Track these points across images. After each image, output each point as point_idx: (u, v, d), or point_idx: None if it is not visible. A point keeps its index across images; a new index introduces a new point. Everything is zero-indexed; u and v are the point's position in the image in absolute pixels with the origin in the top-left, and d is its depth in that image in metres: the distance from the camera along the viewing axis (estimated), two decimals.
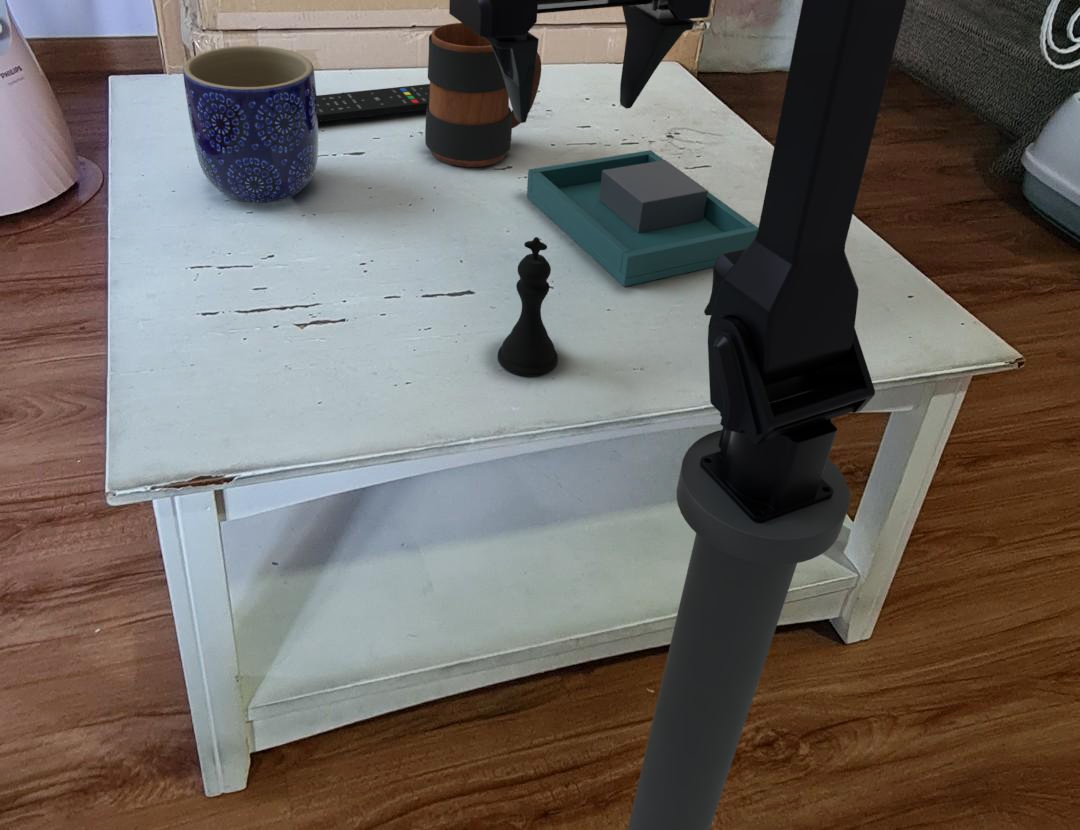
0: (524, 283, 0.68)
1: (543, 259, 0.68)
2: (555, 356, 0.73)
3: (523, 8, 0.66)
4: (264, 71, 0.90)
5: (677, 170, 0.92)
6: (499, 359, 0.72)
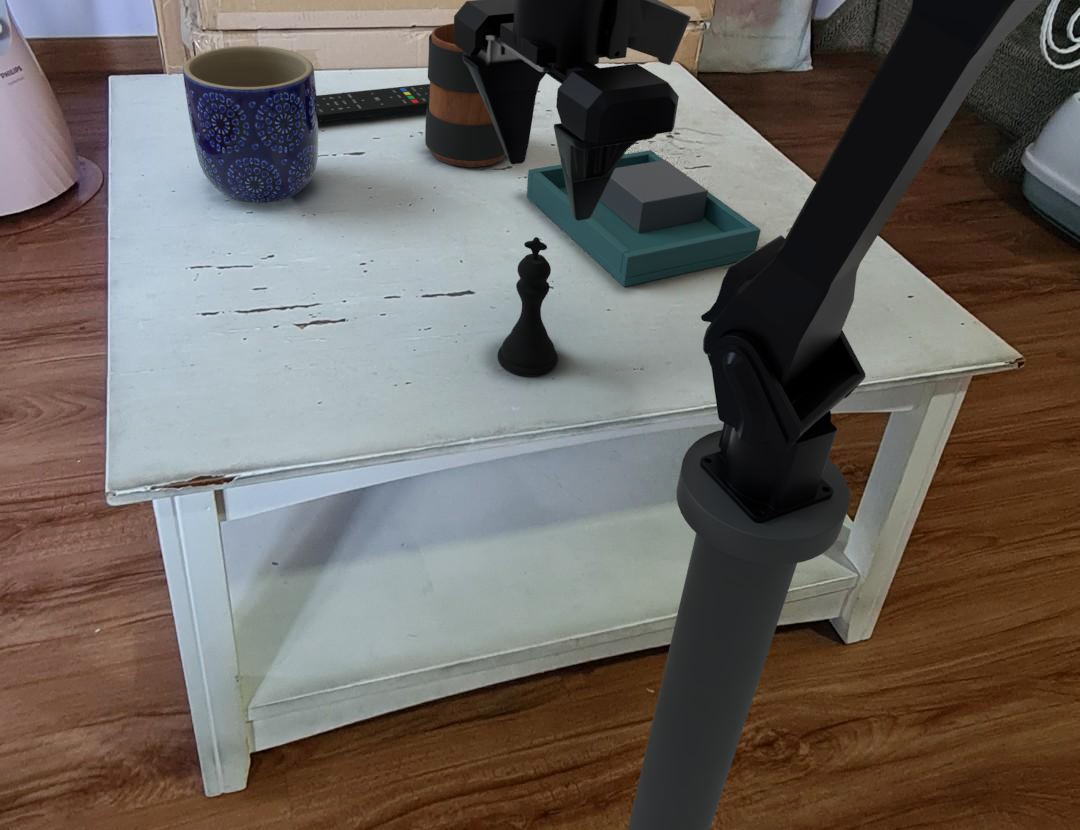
0: (524, 283, 0.68)
1: (543, 259, 0.68)
2: (555, 356, 0.73)
3: (469, 28, 0.65)
4: (264, 71, 0.90)
5: (677, 170, 0.92)
6: (499, 359, 0.72)
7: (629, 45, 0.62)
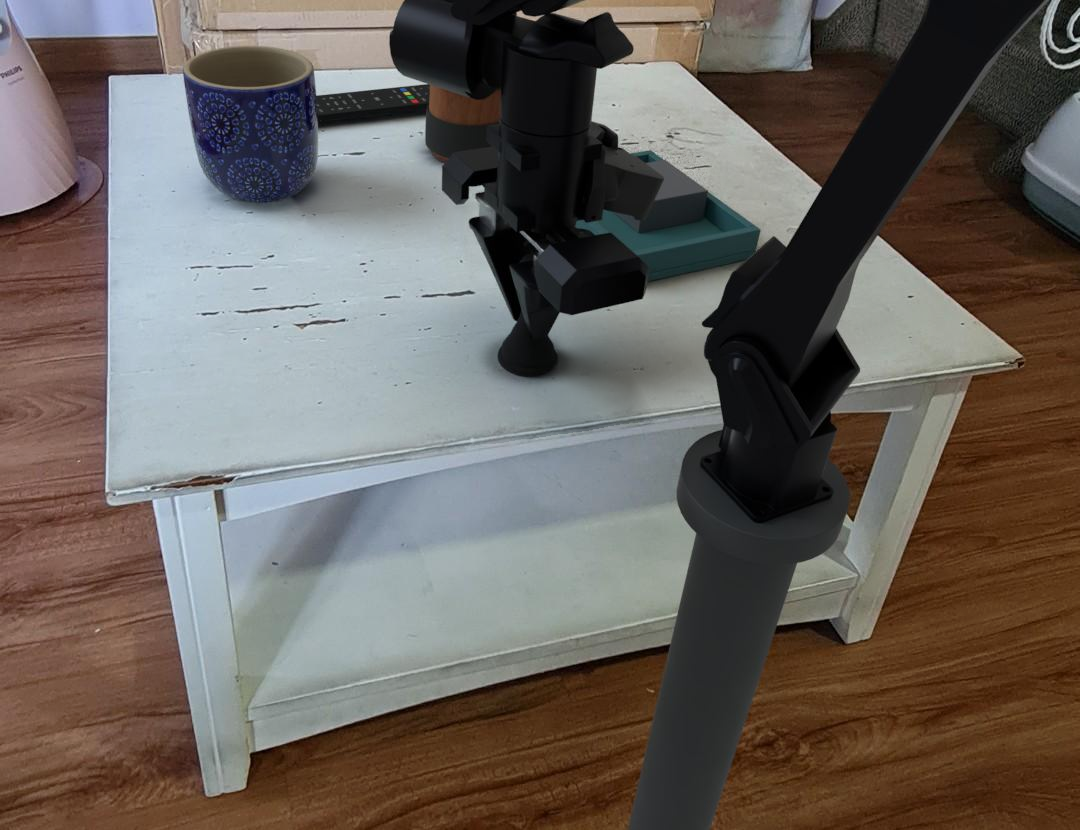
0: None
1: None
2: (555, 356, 0.73)
3: (456, 181, 0.69)
4: (264, 71, 0.90)
5: (677, 170, 0.92)
6: (499, 359, 0.72)
7: (605, 207, 0.65)
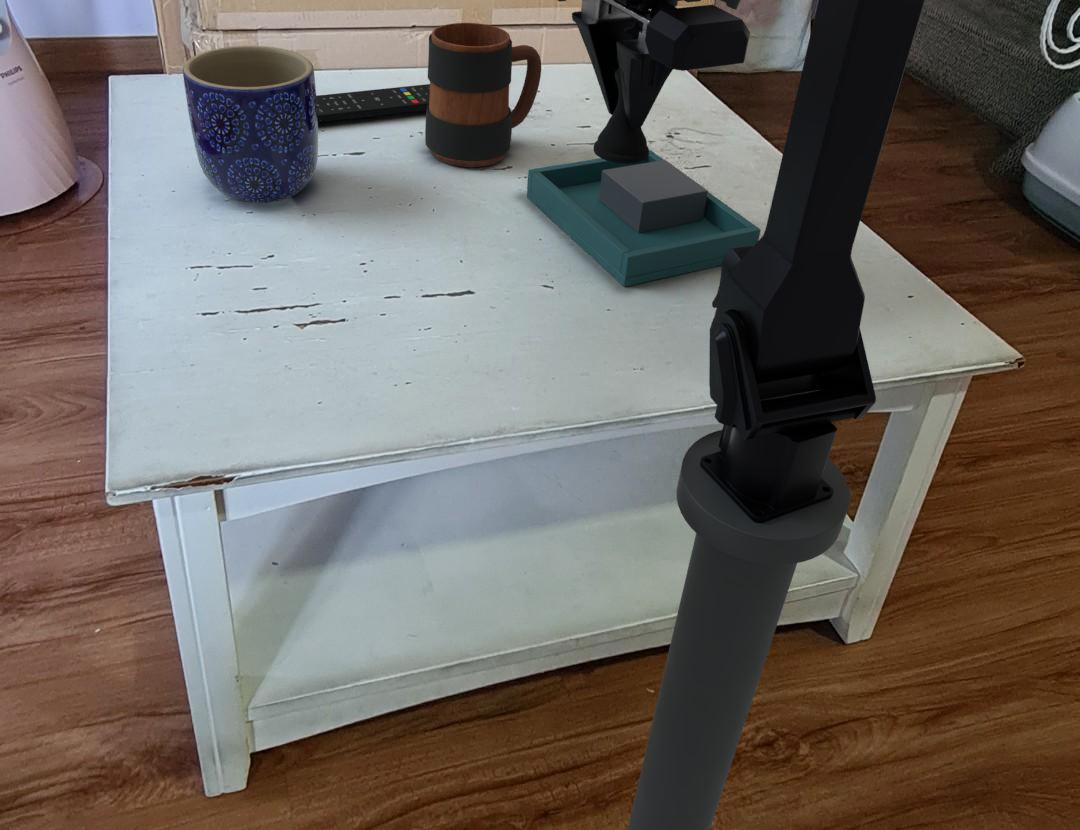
0: None
1: None
2: (647, 148, 0.79)
3: None
4: (264, 71, 0.90)
5: (677, 170, 0.92)
6: (596, 150, 0.78)
7: None
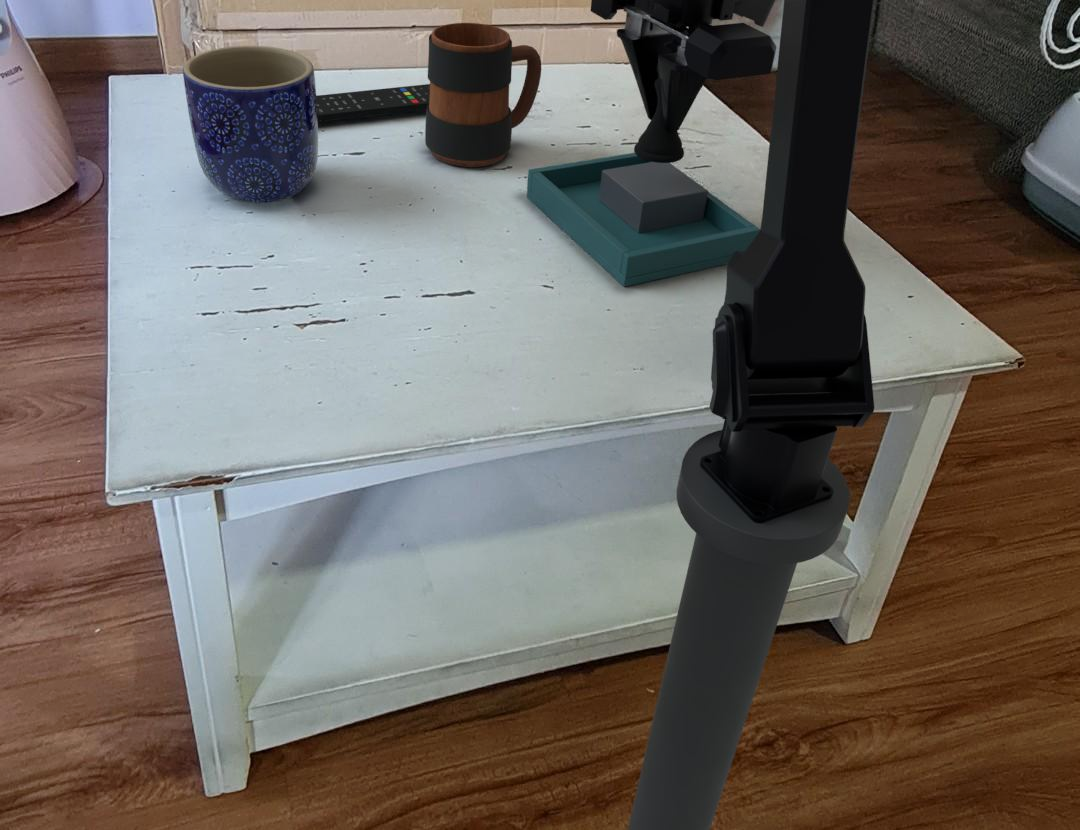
0: None
1: None
2: (682, 149, 0.88)
3: None
4: (264, 71, 0.90)
5: (677, 170, 0.92)
6: (636, 151, 0.88)
7: (734, 10, 0.81)
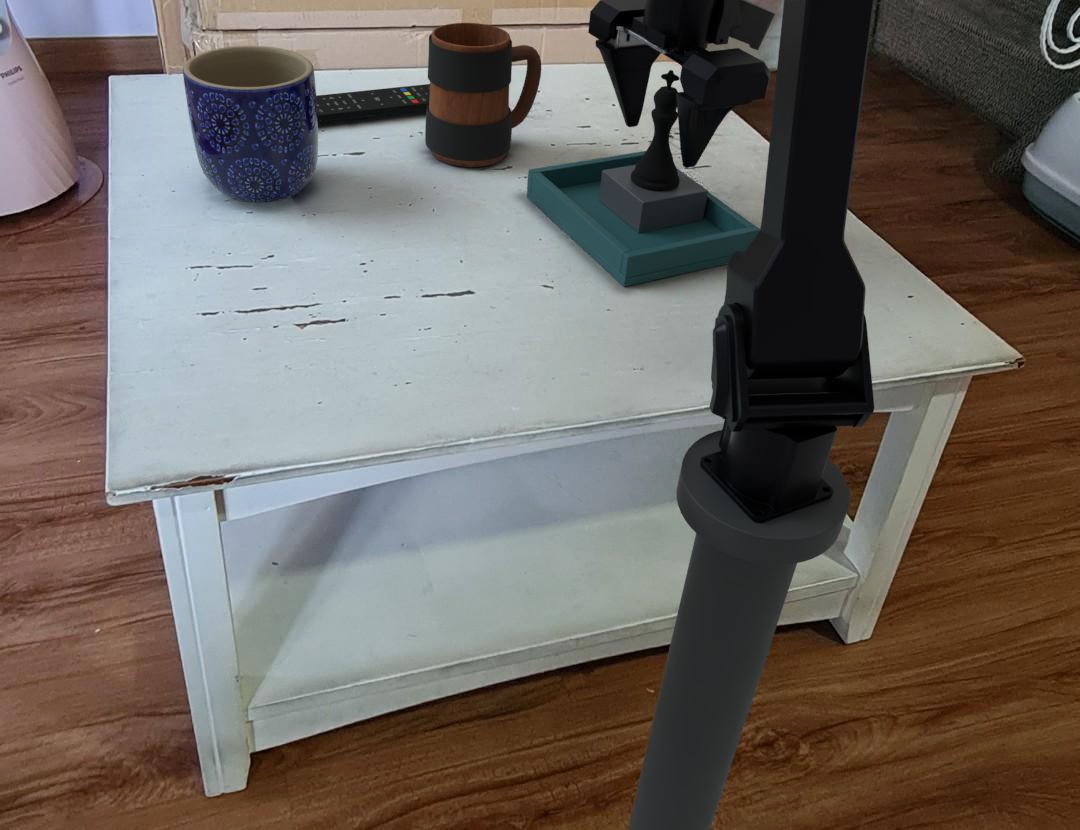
0: (659, 109, 0.85)
1: (675, 89, 0.85)
2: (678, 177, 0.90)
3: (604, 20, 0.86)
4: (264, 71, 0.90)
5: (677, 170, 0.92)
6: (633, 179, 0.89)
7: (729, 34, 0.82)
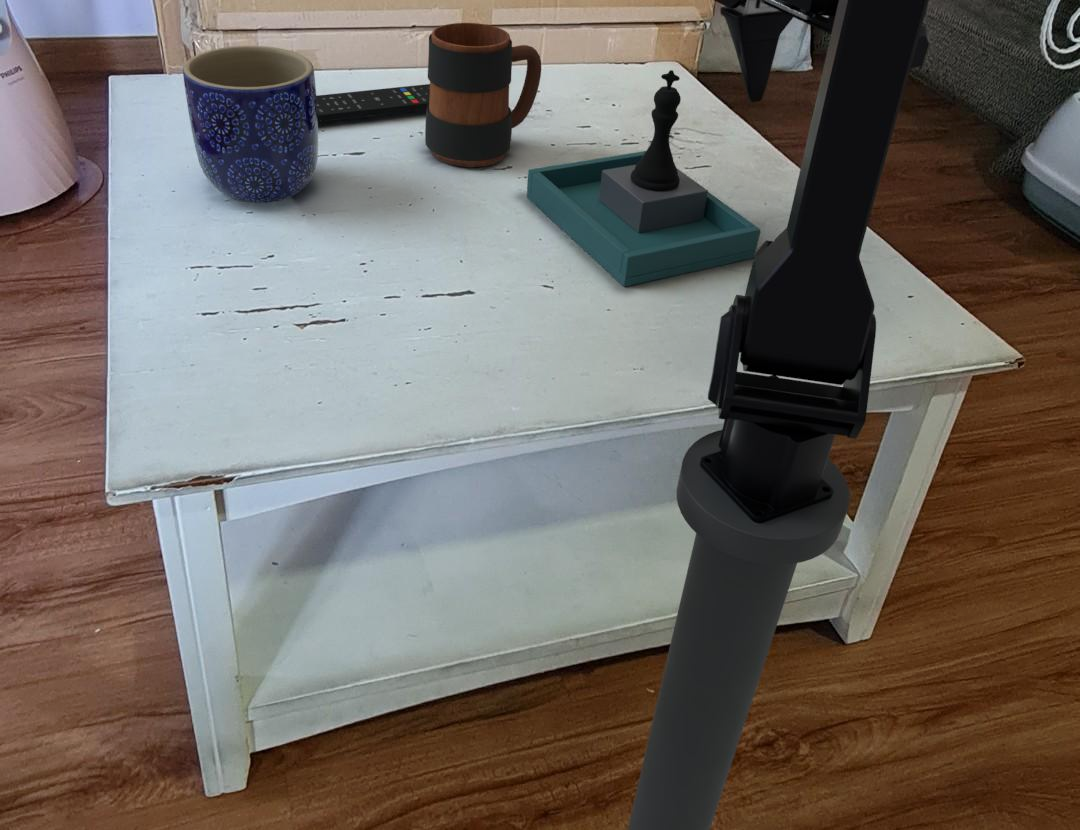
0: (659, 109, 0.85)
1: (675, 89, 0.85)
2: (678, 177, 0.90)
3: None
4: (264, 71, 0.90)
5: (677, 170, 0.92)
6: (633, 178, 0.89)
7: None
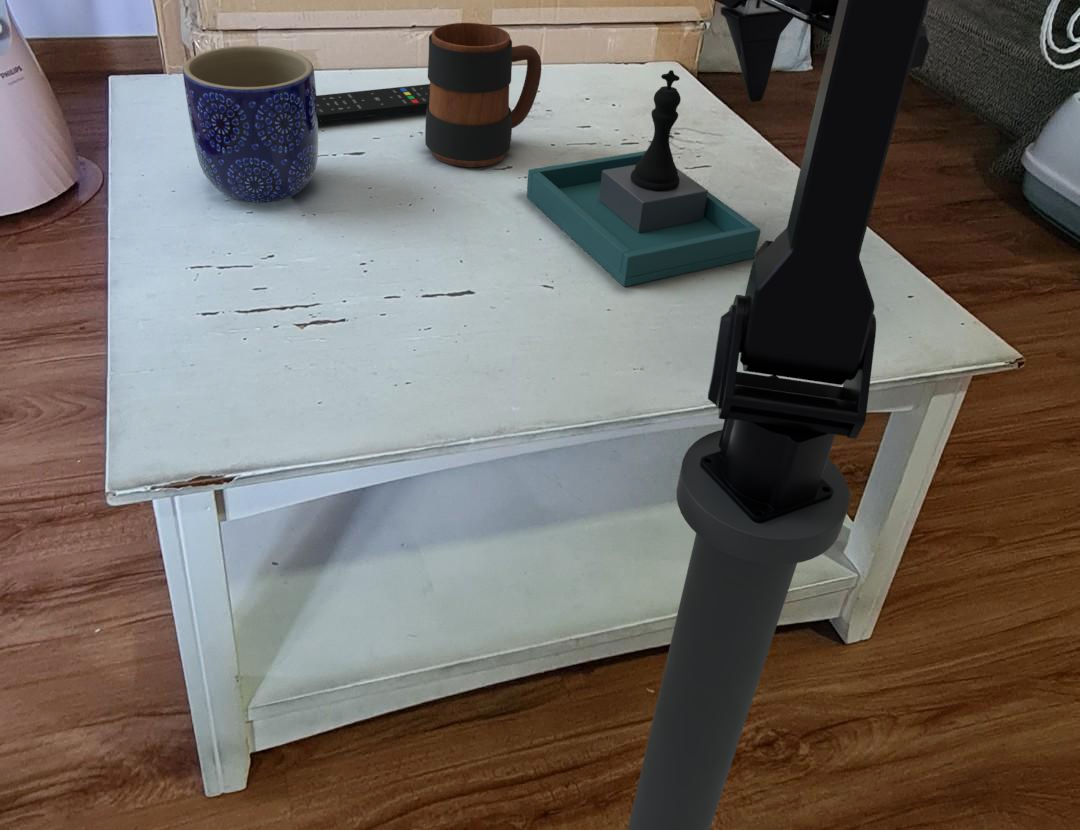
0: (659, 109, 0.85)
1: (675, 89, 0.85)
2: (678, 177, 0.90)
3: None
4: (264, 71, 0.90)
5: (677, 170, 0.92)
6: (633, 178, 0.89)
7: None
